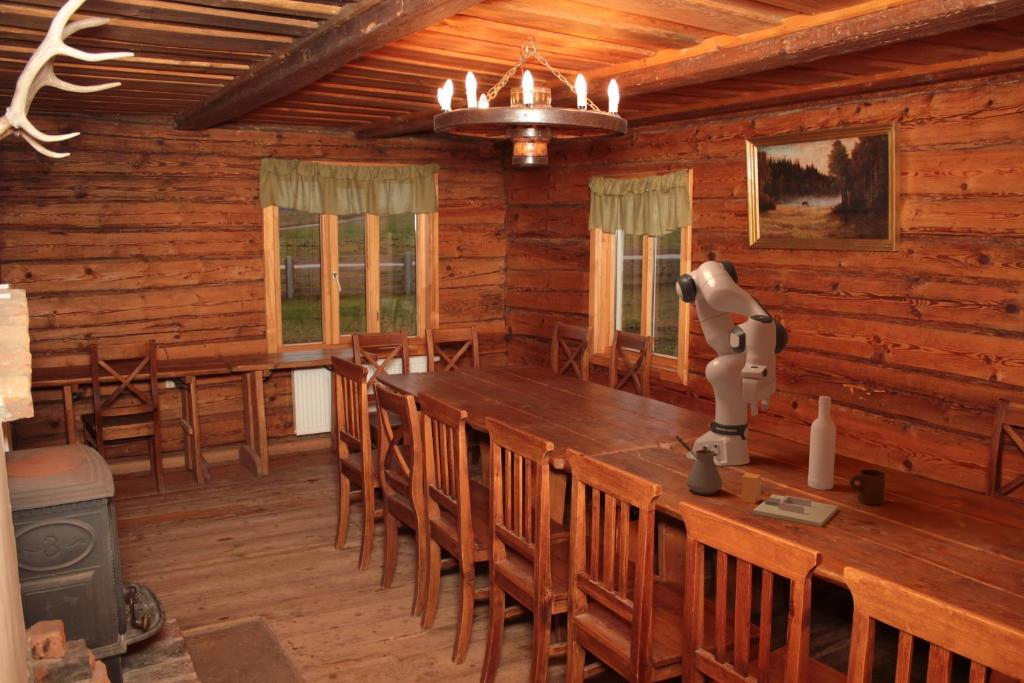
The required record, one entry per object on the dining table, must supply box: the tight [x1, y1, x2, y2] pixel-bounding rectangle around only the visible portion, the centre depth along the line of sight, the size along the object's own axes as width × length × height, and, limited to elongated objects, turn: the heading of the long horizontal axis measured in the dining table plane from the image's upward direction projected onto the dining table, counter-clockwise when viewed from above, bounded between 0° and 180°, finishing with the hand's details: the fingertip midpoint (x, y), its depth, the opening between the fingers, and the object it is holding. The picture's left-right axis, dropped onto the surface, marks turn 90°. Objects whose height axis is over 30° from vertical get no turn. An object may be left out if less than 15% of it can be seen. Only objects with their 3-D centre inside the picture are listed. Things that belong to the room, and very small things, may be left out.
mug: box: [848, 469, 886, 506], centre depth 278 cm, size 12×8×9 cm, turn 108°
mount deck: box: [752, 494, 839, 528], centre depth 270 cm, size 20×18×3 cm
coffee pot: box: [672, 435, 723, 495], centre depth 293 cm, size 21×12×15 cm, turn 28°
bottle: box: [807, 395, 837, 491], centre depth 293 cm, size 8×8×30 cm
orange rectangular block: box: [740, 472, 762, 504], centre depth 280 cm, size 4×4×8 cm
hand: (759, 412), depth 279 cm, fingers open, 8 cm apart
